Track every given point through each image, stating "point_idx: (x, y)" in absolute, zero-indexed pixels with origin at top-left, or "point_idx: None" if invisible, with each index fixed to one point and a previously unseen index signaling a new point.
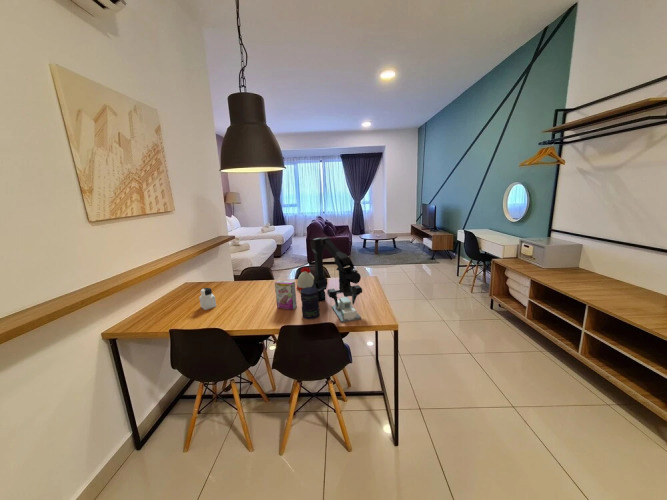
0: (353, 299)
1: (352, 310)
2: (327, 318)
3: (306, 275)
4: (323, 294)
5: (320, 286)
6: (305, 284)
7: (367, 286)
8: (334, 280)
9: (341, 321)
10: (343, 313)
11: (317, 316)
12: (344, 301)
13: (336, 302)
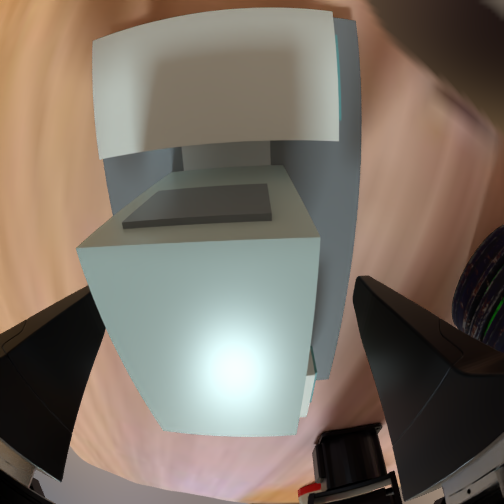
0: (55, 331)
1: (145, 66)
2: (447, 182)
3: None
4: (331, 465)
5: None
6: (354, 495)
7: (86, 443)
8: (218, 495)
9: (350, 22)
10: (329, 43)
11: (495, 238)
12: (252, 297)
13: (424, 317)
